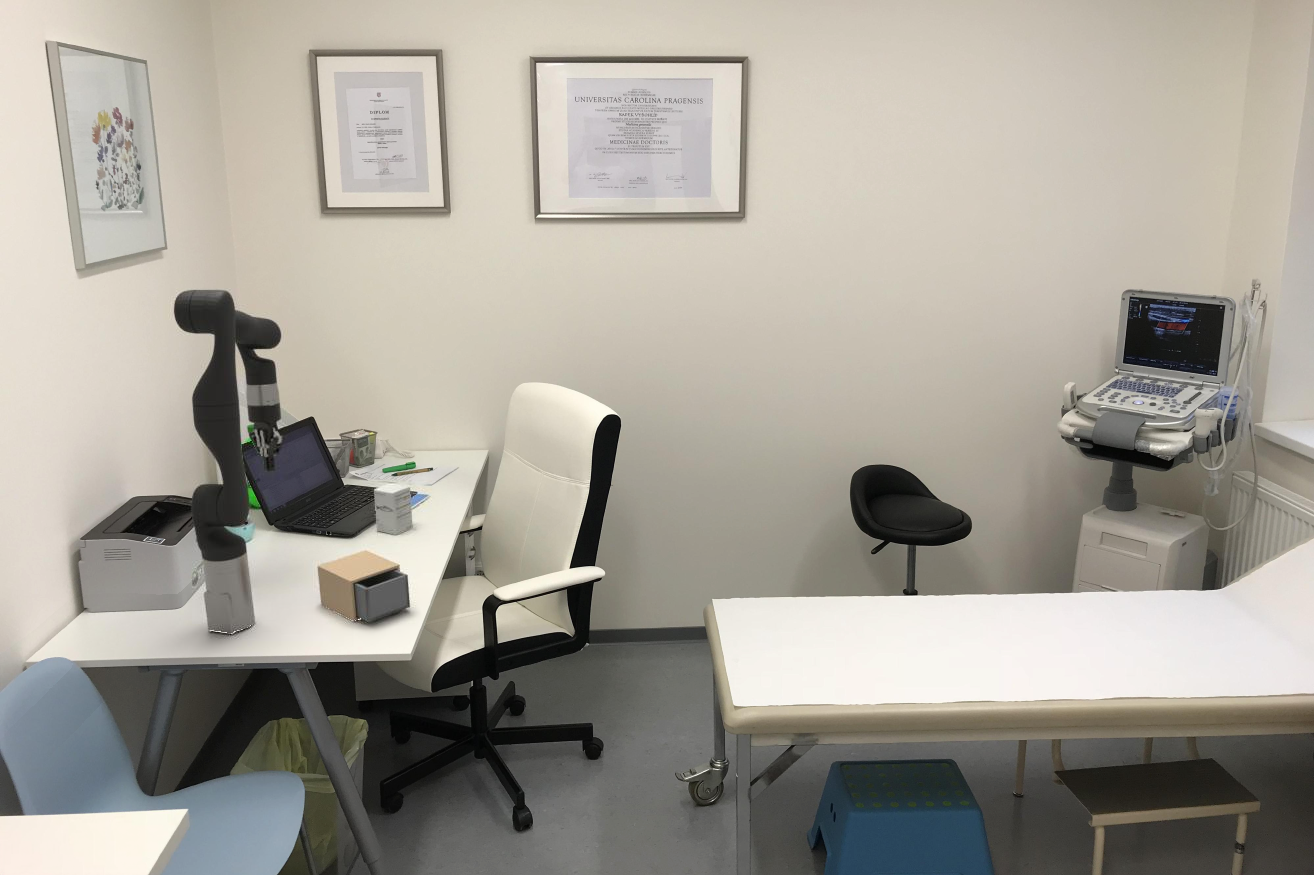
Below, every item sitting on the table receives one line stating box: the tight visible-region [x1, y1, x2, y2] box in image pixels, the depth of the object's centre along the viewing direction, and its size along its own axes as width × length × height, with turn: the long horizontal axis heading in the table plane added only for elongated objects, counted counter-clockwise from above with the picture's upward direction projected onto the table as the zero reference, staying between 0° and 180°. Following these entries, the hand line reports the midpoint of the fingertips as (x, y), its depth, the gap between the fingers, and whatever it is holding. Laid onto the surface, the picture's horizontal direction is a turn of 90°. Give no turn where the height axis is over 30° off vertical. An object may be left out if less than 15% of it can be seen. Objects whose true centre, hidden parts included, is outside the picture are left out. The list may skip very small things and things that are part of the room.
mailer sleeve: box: [317, 550, 401, 622], centre depth 239 cm, size 14×13×10 cm
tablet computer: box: [411, 493, 431, 510], centre depth 310 cm, size 19×13×1 cm, turn 166°
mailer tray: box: [353, 569, 411, 623], centre depth 238 cm, size 20×11×8 cm, turn 48°
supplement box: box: [373, 482, 413, 536], centre depth 287 cm, size 7×7×13 cm
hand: (269, 470), depth 252 cm, fingers closed
